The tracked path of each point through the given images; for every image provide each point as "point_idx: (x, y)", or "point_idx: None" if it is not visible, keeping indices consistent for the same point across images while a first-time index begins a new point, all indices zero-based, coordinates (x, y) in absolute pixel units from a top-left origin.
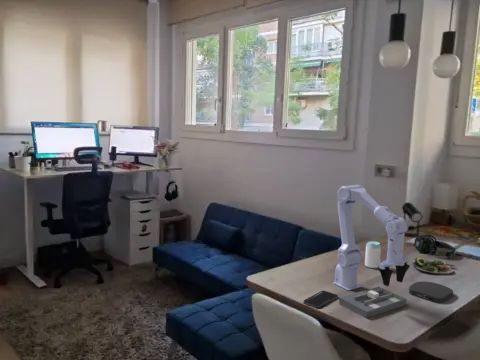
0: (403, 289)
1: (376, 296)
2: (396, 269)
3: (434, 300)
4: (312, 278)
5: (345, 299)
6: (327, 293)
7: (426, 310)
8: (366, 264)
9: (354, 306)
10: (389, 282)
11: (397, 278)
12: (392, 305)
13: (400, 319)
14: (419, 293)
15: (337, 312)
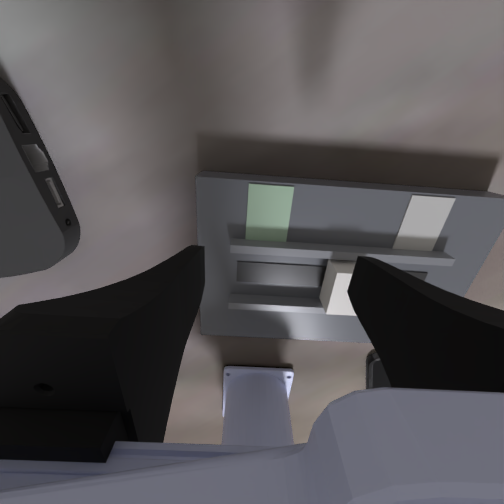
0: (76, 281)
1: (352, 267)
2: (176, 374)
3: (6, 92)
4: None
5: None
6: (379, 384)
7: (152, 48)
8: None
9: (471, 271)
10: (381, 266)
11: (201, 291)
12: (315, 182)
13: (388, 71)
14: (46, 193)
15: (500, 287)
